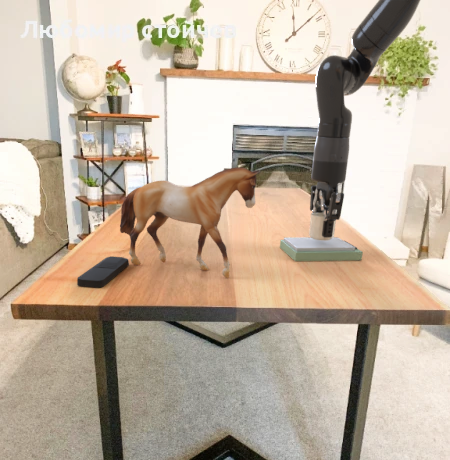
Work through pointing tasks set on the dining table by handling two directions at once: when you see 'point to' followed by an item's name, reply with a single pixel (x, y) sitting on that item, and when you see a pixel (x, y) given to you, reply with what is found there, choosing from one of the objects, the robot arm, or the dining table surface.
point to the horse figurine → (186, 208)
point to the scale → (319, 249)
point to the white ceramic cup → (318, 227)
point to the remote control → (103, 272)
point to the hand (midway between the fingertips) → (321, 233)
